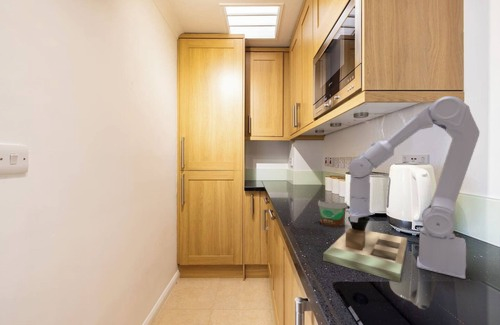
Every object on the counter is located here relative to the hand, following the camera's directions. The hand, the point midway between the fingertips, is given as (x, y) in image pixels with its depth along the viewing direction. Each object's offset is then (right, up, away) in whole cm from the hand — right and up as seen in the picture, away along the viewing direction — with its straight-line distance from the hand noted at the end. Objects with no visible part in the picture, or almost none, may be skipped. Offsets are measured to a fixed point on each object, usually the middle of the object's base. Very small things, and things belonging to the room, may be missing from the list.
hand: (358, 239), depth 73 cm
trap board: (+2, -3, -2) cm, 4 cm away
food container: (0, -3, +25) cm, 25 cm away
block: (-2, -1, -3) cm, 4 cm away
